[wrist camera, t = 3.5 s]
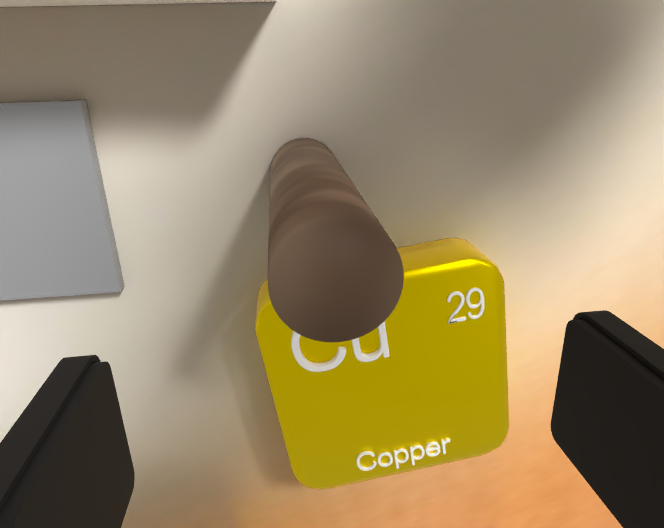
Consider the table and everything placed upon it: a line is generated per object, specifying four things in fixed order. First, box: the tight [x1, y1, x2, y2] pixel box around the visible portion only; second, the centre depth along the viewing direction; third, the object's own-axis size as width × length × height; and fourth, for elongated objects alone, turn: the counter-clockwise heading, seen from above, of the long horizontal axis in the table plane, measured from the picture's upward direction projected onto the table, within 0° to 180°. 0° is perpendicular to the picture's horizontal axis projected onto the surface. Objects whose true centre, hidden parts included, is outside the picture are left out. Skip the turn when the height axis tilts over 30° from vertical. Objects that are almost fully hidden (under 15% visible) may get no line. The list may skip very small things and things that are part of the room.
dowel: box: [268, 138, 404, 342], centre depth 22 cm, size 4×4×16 cm
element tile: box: [256, 238, 509, 489], centre depth 33 cm, size 15×15×5 cm
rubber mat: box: [0, 100, 124, 301], centre depth 28 cm, size 11×11×1 cm
